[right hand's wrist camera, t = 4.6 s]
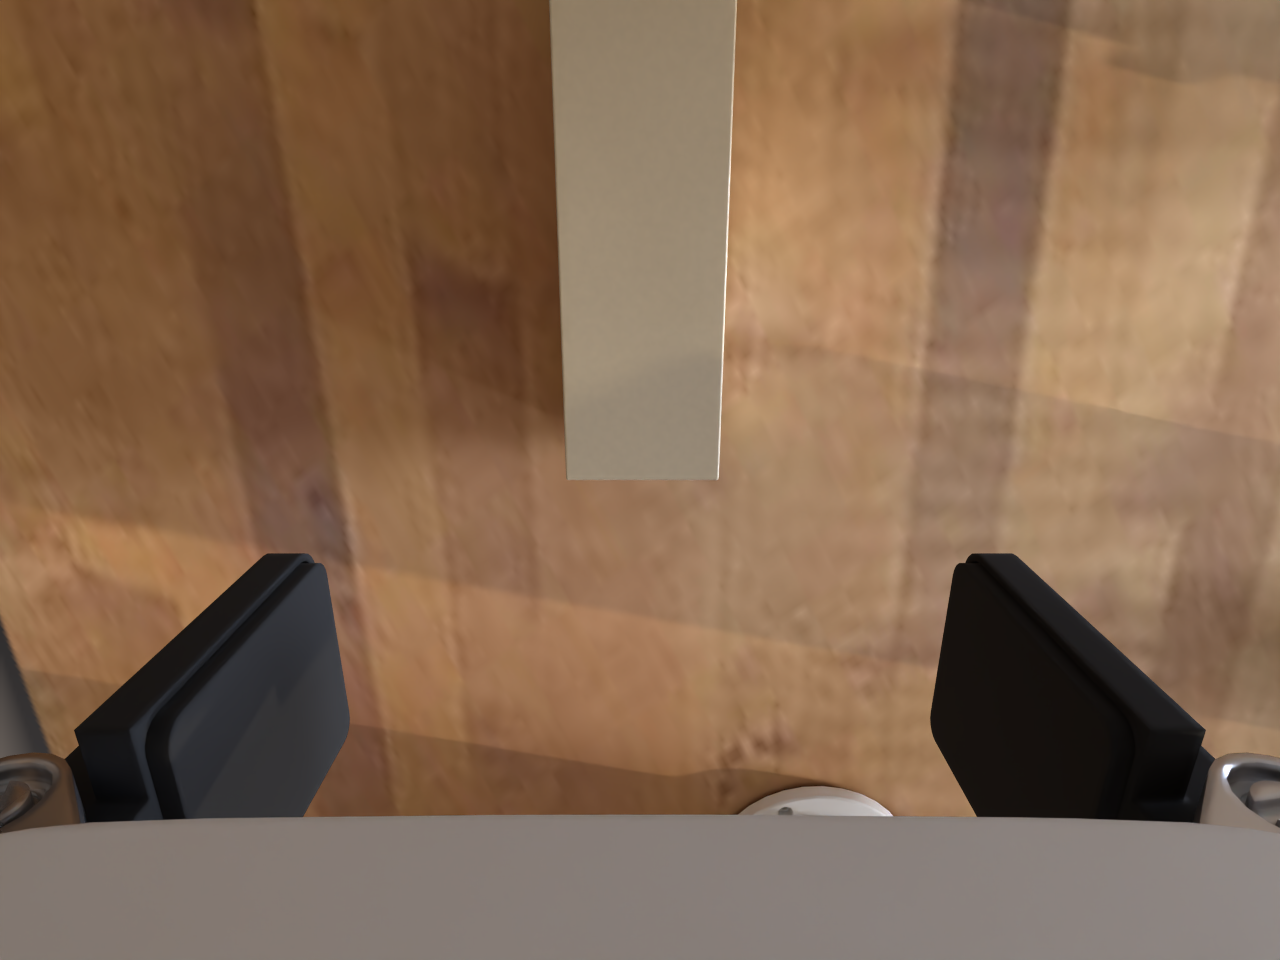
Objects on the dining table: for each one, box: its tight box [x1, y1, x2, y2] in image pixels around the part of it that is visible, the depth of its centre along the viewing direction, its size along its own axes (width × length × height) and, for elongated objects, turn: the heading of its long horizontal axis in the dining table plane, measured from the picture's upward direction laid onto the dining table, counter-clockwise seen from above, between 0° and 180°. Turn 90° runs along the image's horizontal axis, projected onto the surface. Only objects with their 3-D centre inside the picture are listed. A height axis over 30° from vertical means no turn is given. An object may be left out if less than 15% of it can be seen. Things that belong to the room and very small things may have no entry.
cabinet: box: [549, 0, 737, 480], centre depth 30 cm, size 21×6×8 cm, turn 0°
